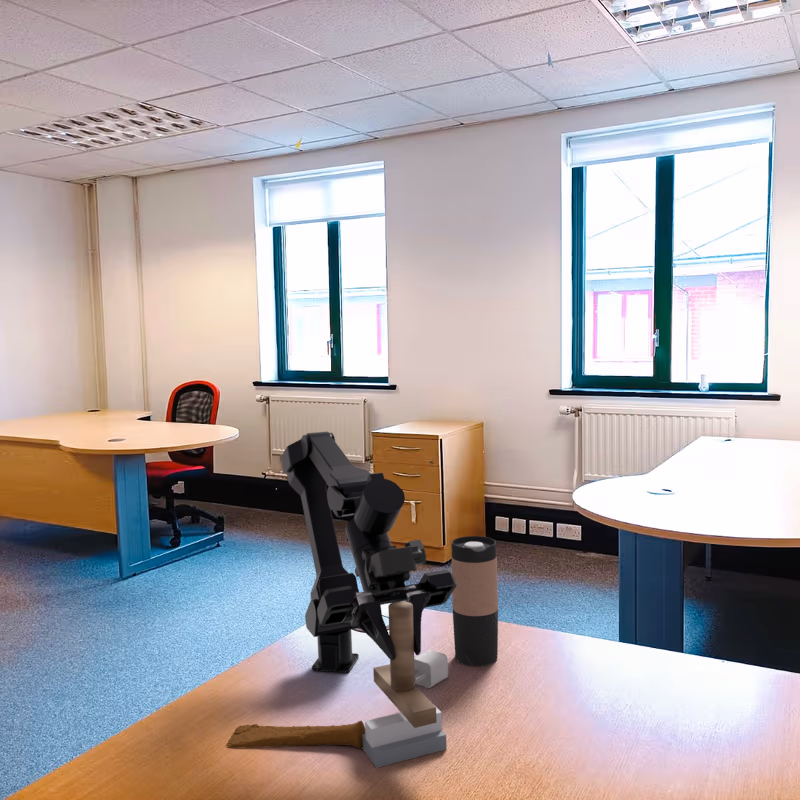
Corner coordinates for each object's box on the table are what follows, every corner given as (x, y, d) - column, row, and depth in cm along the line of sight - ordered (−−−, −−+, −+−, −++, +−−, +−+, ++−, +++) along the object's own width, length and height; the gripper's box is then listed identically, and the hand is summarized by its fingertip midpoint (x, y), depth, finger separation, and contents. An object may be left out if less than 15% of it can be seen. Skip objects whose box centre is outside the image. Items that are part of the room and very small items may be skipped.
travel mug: (468, 644, 136) (465, 533, 134) (507, 654, 132) (504, 539, 130) (445, 660, 130) (441, 544, 128) (484, 671, 126) (482, 550, 124)
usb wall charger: (448, 679, 123) (447, 654, 123) (421, 695, 118) (420, 670, 118) (428, 672, 126) (427, 648, 126) (401, 688, 121) (400, 663, 120)
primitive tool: (224, 750, 105) (223, 725, 105) (237, 729, 110) (236, 705, 110) (364, 755, 103) (363, 729, 102) (370, 734, 108) (370, 709, 108)
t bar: (373, 681, 108) (370, 591, 107) (394, 676, 110) (391, 587, 108) (413, 728, 96) (411, 626, 94) (437, 722, 97) (434, 621, 96)
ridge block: (376, 767, 99) (375, 734, 98) (362, 748, 103) (361, 716, 103) (446, 749, 103) (445, 716, 102) (430, 731, 107) (429, 700, 107)
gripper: (320, 530, 100) (351, 643, 91) (448, 513, 108) (489, 616, 98) (305, 572, 108) (333, 680, 99) (426, 553, 116) (462, 652, 106)
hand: (406, 656), depth 101 cm, fingers closed on t bar, 3 cm apart
